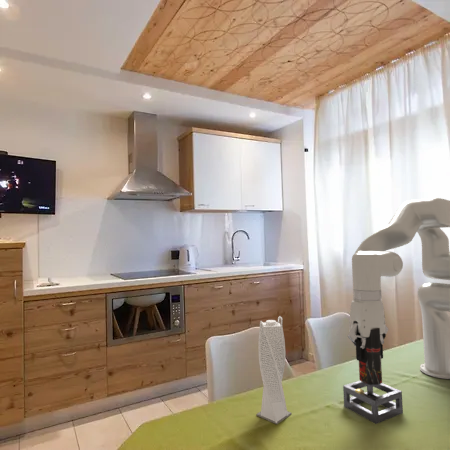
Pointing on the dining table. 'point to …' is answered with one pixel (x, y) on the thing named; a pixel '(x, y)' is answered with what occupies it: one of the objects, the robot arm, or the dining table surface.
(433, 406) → the dining table surface
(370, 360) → the deodorant
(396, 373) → the dining table surface
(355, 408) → the grey open cube frame
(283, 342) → the skyscraper
